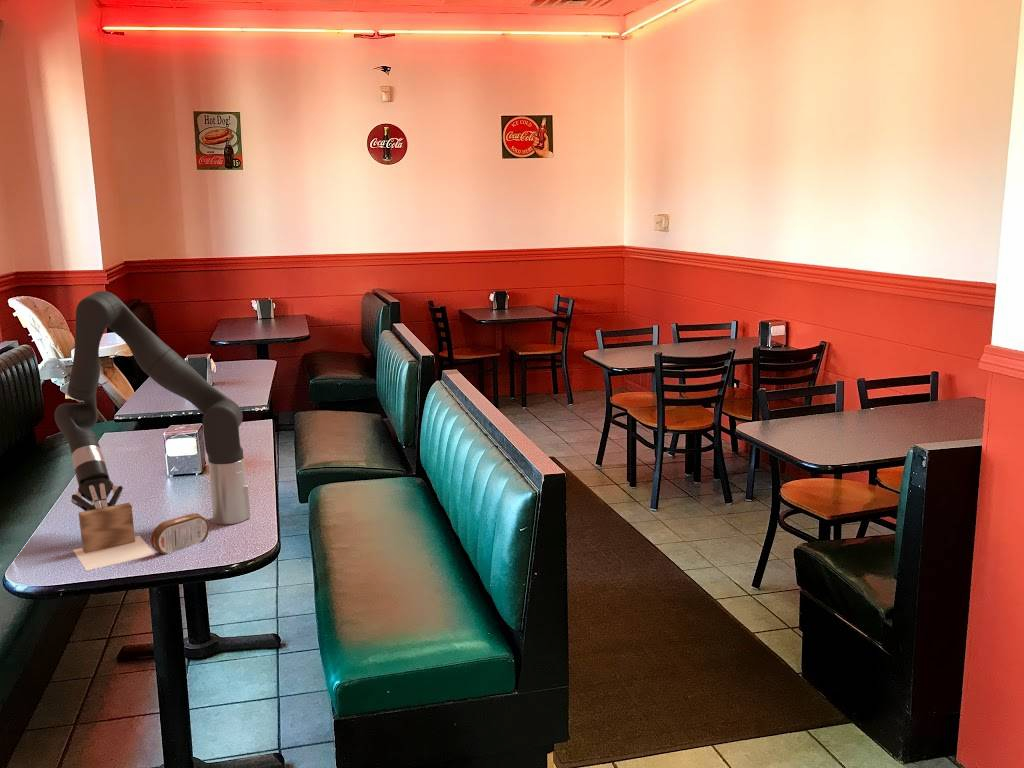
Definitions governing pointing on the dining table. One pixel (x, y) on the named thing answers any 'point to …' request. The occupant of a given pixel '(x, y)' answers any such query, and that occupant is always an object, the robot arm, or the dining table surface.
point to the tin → (179, 533)
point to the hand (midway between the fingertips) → (105, 523)
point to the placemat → (114, 554)
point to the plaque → (106, 527)
